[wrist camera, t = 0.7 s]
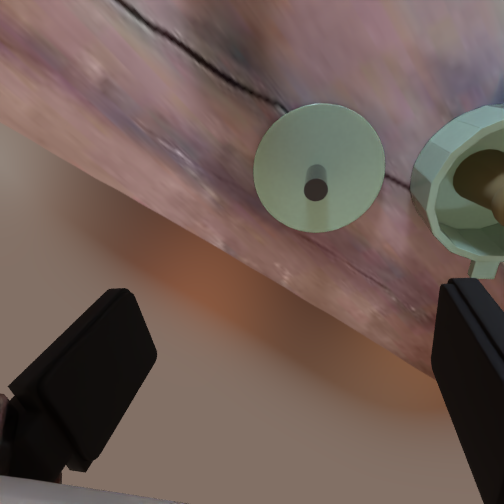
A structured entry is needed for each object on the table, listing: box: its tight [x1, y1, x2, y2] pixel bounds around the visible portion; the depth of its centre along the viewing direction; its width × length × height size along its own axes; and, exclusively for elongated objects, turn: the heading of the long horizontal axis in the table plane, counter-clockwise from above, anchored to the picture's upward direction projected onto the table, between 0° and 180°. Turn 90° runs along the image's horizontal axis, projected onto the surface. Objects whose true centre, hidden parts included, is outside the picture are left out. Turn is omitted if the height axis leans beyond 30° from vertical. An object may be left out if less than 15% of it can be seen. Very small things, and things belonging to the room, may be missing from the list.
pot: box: [410, 104, 504, 279], centre depth 34 cm, size 15×21×7 cm
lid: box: [253, 103, 385, 233], centre depth 37 cm, size 16×16×7 cm
